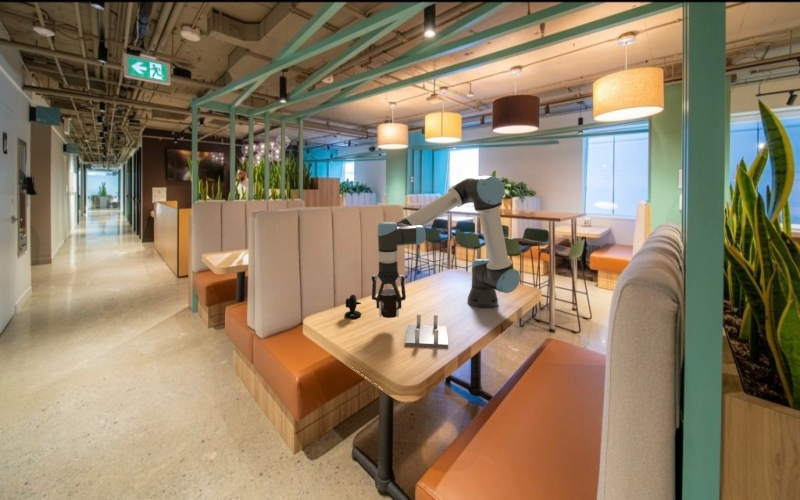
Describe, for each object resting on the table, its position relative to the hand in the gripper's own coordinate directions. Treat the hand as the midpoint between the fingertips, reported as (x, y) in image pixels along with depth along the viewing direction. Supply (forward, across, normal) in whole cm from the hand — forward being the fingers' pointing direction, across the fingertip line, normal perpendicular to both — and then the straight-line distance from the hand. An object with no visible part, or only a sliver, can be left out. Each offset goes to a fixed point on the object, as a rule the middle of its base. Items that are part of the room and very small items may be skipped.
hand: (389, 315), depth 140 cm
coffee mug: (+1, 0, 0) cm, 1 cm away
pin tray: (+6, -16, +5) cm, 18 cm away
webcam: (+6, +18, -14) cm, 24 cm away
